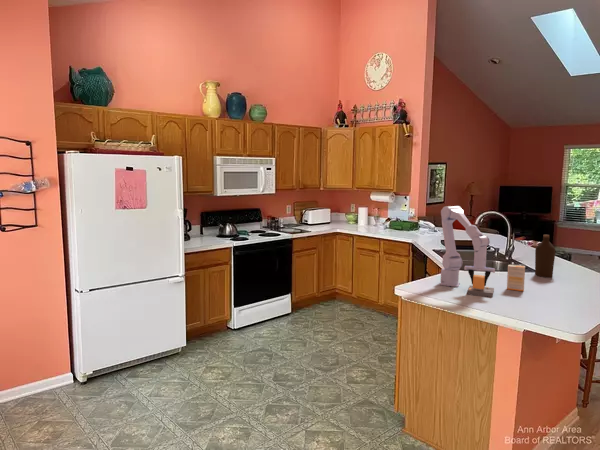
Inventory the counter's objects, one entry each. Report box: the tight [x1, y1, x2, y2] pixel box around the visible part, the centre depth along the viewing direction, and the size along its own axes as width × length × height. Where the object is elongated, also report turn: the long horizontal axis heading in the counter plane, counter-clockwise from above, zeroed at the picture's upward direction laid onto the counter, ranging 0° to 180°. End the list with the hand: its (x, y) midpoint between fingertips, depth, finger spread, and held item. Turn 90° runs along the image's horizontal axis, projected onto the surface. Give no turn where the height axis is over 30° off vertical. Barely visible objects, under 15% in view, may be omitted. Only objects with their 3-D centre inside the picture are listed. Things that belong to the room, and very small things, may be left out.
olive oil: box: [534, 234, 556, 278], centre depth 262 cm, size 11×11×25 cm
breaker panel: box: [466, 285, 495, 298], centre depth 226 cm, size 12×11×3 cm
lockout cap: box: [472, 274, 486, 289], centre depth 224 cm, size 5×5×6 cm
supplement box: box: [506, 264, 526, 292], centre depth 231 cm, size 8×5×13 cm, turn 59°
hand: (478, 284), depth 224 cm, fingers closed on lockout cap, 5 cm apart
